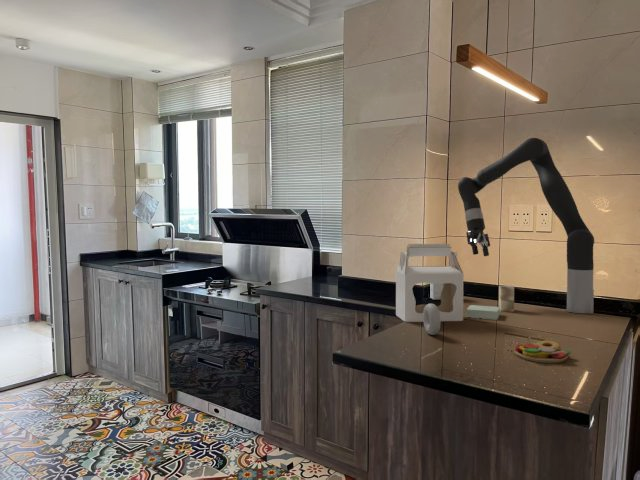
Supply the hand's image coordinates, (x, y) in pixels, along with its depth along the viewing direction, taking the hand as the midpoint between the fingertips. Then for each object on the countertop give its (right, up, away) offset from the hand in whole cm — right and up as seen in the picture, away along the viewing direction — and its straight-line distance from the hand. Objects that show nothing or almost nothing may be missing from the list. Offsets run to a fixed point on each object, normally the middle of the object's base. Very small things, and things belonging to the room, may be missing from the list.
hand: (481, 255), depth 209 cm
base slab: (-8, -23, -26) cm, 36 cm away
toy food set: (-12, -25, -83) cm, 87 cm away
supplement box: (-13, -21, +19) cm, 31 cm away
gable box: (-30, -23, -30) cm, 48 cm away
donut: (-35, -24, -57) cm, 71 cm away
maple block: (+6, -22, -14) cm, 27 cm away
